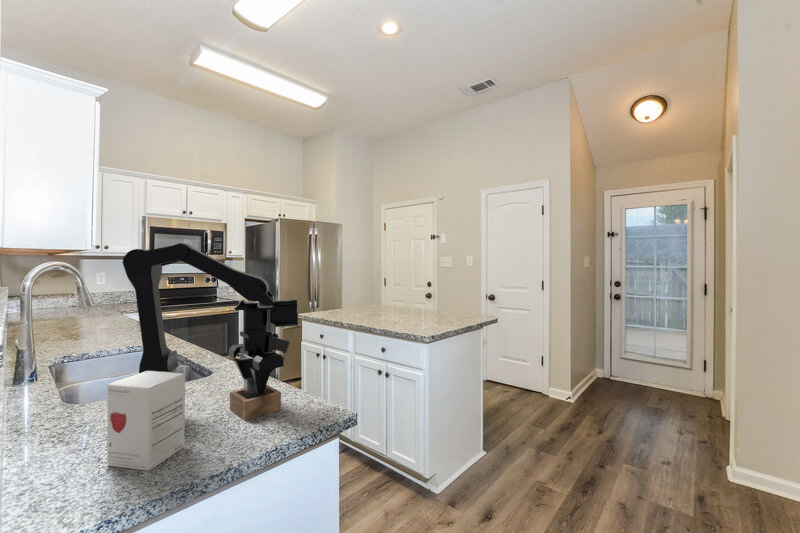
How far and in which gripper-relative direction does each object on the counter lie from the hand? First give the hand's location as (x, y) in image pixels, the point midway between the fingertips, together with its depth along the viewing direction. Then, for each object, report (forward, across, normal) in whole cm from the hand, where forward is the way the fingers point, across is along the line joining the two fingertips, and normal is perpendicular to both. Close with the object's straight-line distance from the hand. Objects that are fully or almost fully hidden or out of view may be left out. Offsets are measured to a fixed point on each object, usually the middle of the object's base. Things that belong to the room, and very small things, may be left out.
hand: (255, 390), depth 92 cm
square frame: (+5, 0, 0) cm, 5 cm away
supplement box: (+5, -7, +24) cm, 26 cm away
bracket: (+5, 0, 0) cm, 5 cm away
